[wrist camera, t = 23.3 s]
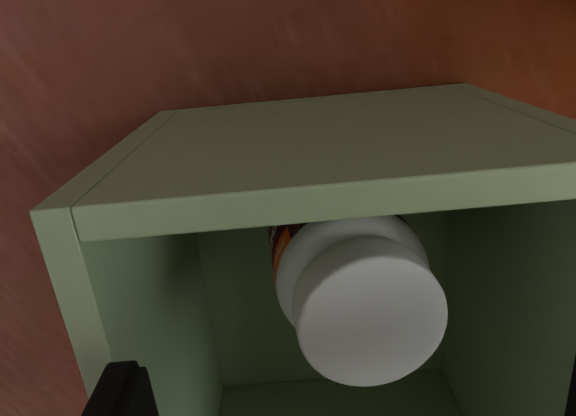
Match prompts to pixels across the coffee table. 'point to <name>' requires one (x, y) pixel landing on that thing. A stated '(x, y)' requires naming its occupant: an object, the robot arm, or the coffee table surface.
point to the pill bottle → (359, 297)
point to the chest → (315, 208)
